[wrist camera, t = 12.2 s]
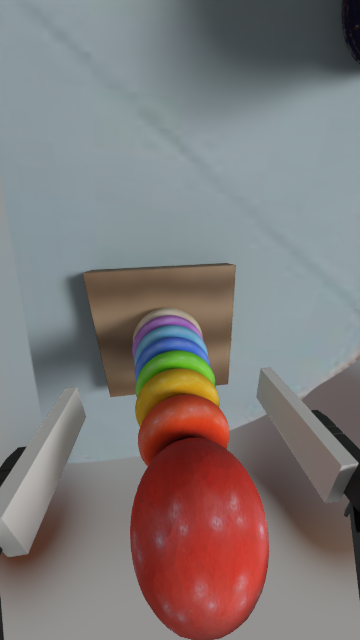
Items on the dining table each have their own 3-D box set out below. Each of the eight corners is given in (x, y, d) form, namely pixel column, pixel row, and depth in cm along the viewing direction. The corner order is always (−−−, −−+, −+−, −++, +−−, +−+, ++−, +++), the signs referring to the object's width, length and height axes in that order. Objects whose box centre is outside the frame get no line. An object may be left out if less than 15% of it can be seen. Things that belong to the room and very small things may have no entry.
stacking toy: (190, 369, 24) (270, 666, 7) (128, 359, 23) (39, 707, 6) (208, 313, 22) (403, 564, 5) (140, 298, 20) (43, 589, 3)
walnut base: (92, 270, 22) (82, 273, 19) (226, 263, 23) (235, 265, 20) (115, 381, 27) (110, 397, 25) (221, 371, 29) (228, 384, 26)
